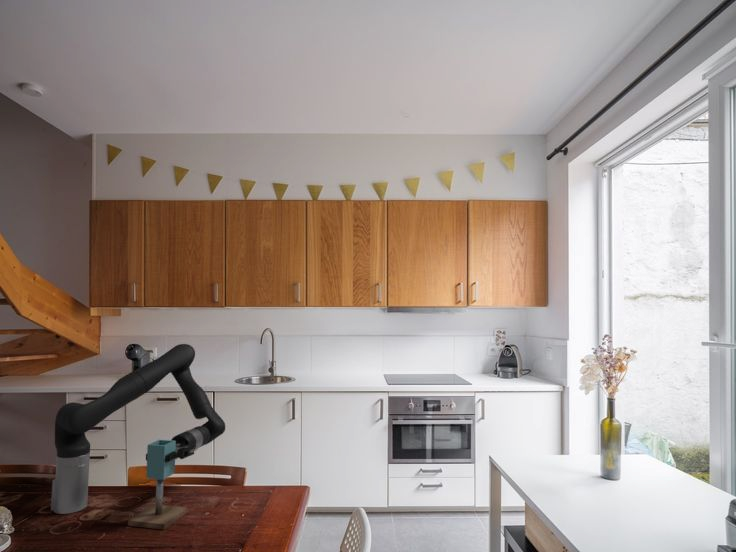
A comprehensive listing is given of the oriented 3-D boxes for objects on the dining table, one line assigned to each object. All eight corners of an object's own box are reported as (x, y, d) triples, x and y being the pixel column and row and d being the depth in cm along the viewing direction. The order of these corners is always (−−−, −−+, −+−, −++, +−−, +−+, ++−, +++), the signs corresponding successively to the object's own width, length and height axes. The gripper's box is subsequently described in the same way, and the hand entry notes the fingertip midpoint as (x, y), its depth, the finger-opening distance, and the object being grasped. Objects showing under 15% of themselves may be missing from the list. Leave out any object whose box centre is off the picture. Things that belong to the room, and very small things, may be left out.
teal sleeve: (146, 478, 146) (147, 444, 146) (157, 471, 152) (159, 439, 152) (163, 479, 145) (164, 446, 145) (174, 473, 151) (175, 440, 151)
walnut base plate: (127, 525, 142) (128, 520, 143) (152, 508, 154) (153, 504, 154) (164, 529, 140) (164, 524, 140) (186, 512, 152) (187, 507, 152)
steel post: (153, 514, 147) (155, 479, 147) (157, 512, 148) (159, 477, 149) (159, 515, 146) (161, 480, 147) (163, 512, 148) (164, 477, 149)
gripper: (168, 430, 164) (135, 444, 148) (206, 432, 162) (178, 447, 145) (167, 452, 164) (134, 469, 147) (206, 455, 161) (177, 472, 145)
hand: (156, 458), depth 146 cm, fingers closed on teal sleeve, 5 cm apart
